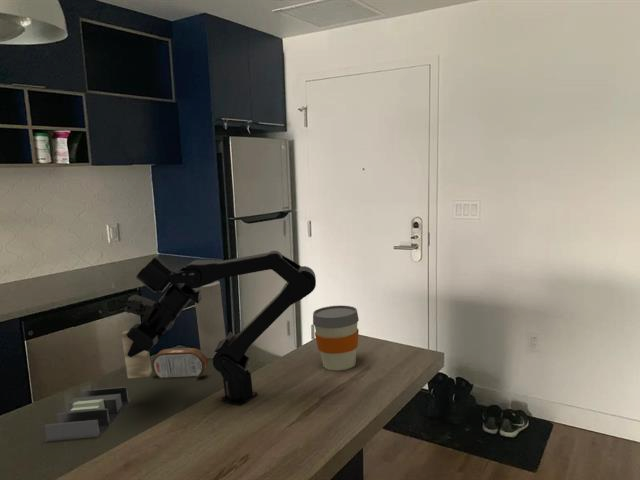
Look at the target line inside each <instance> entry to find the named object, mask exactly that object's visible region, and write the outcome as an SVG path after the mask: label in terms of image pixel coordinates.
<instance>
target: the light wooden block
mask: <svg viewBox="0 0 640 480" xmlns="http://www.w3.org/2000/svg"><path fill="white" fill-rule="evenodd" d="M129 330H130V329H129ZM129 330H125V331H123V332H122V333H121V339H122V347H123V348H122V349H123V354H124V360H125V361H124V362H125V368H126V375H127V379H137V378H139V379H140V378H146V377H147V378H148V377H150V375H151V374H152V373H153V368H152V362H151V356H150V351H149V352H148V351H145V350H144V351H142V352H140V353H138V354H136V355H134V356H133V357H129V356H128V355H127V354H128V352H129V350H130V347H131V345H132V343H133V341H132V340H131V339H129V338H128V337H127V335H126V334H127V333H128V332H129Z"/></svg>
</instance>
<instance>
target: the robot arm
mask: <svg viewBox="0 0 640 480" xmlns="http://www.w3.org/2000/svg"><path fill="white" fill-rule="evenodd" d="M269 270H272V271H273V272H274V273H275V274H277V275H278V276H279V277H280V278H282V279H283V281H285V284H284V285H283V287H282V289H281V290H280V292H279V293H278V294H277V295H276V296H275V297H273V299H272V300H271V301H270V302H269V303H268V304H267V305H266V306H264V308H263V309H262V310H260V312H259V313H258V314H257V315H256V316H255V317H254V318H253V319H252V320H250V321H249V322H248V324H247V325H245V327H244V328H242V330H241V331H239V332H238V333H236V334H233V333H232V331H229V333H228V334H227V335H226V338H225V339H224V340H222V341H220V342H219V344H218V345H217V347H216V349H215V352H216V353H215V355H214V357H213V358H212V365H213V367H214V369H215V370H216V371H217V372H219V373H220V375H221V377H222V378H223V380H222V382H223V390H224V391H223V392H224V396H222V397H221V398H220V400H221V401H222V400H224V401H223V402H226V401H228V402H227V403H229V402H231V403H230V404H233V403H235V405H237V404H238V406H241V405H242V404H244V403H246V402H248V401H250V400H251V399H253V398H254V396H255V397H256V396H257V394H258V392H257V391H254V390H253V382H252V373H251V372H250V371H249V370H248V367H249V365H250V361H251V358H250V357H249V356H248V355H246V353H247V351H248V349H249V347H250V346H252V344H253V343H254V342H255V341H256V340H257V339H259V337H260V336H261V335H262V334H263V333H264V332H266V330H267V329H268V328H269V327H270V326H271V325H272V324H273V323H274V322H276V321H277V320H278V318H279V317H281V316H282V314H284V312H285V311H286V310H287V309H289V307H290V306H292V305H294V304H296V303H298V302H299V301H301V300H303V299H304V298H306V297H308V296H309V295H310V294H312V293H313V292H314V290H315V289H316V287H317V285H316V284H317V279H316V278H317V277H316V273H315V271H314V270H313V269H312V268H311V267H309V266H305V265H300V264H298V263H297V262H295V261H293V260H291V259H290V258H288V257H287V256H285V255H284V254H282V252H279V251H278V250H272V251H270V252H269V251H268V252H265V253H264V252H263V253H258V254H253V255H248V256H247V255H246V256H243V257H237V258H230V259H225V260H215V259H214V260H213V259H196V260H193V261H192V262H190V263H188V264H187V265H186V266H184V267H179V268H176V269H175V270H174V269H172V268H171V267H170V266H169V265H167V264H166V263H165V262H163V260H162V259H161V258H160V257H159V256H155V257H153V258H152V259H151V260H150V261H149V262H148V263H147V264H146V265H145V266H144V267H143V268H142V269H141V270H140V271H139V272H138V274H137V275H136V277H135V279H137V280H138V281H139V282H141V284H143V285H144V286H145V287H147V288H148V289H149V290H151V291H152V292H153V293H158V292H160V293H163V292H164V291H165V290H166V289H167V288H168V287H169V288H168V289H167V290H166V292H165V293H164V294H163V295H162V296H161V298H159V299H158V300H157V301H154V300H152V299H150V298H147V297H144V296H141V295H138V294H133V295H131V296H129V297H128V299H127V301H126V303H125V304H124V307H125V309H124V312H125V313H127V314H133V315H136V316H140V317H141V319H140V320H141V323H136V324H134V325H133V326H132V327H131V328H130V329H129V332H128V333H127V334H126V335H127V337H128V338H129V339H131V340H132V341H133V343H132V345H131V347H130V350H129V352H128V354H127V355H128V356H129V357H133V356H134V355H136V354H138V353H140V352H142V351H144V350H145V351H148V352H149V353H150V351H151V349H152V348H153V347H154V346H155V345H156V344H158V341H159V340H160V339H162V337H164V335H165V332H168V331H169V330H170V329H171V328H172V327H173V326H174V324H175V323H176V322H175V320H176V319H177V318H178V317H179V316H180V315H181V313H182V312H183V311H184V309H185V308H186V307H187V305H188V304H190V302H191V301H193V302H194V304H195V303H199V302H200V301H201V300H202V297H201V290H194V289H193V288H199V287H202V286H205V285H207V284H210V283H212V282H215V281H220V280H222V279H225V278H230V277H235V276H241V275H246V274H252V273H253V274H254V273H257V272H258V273H259V272H265V271H269ZM170 284H171V286H169V285H170Z"/></svg>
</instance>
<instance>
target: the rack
mask: <svg viewBox="0 0 640 480" xmlns="http://www.w3.org/2000/svg"><path fill="white" fill-rule="evenodd" d="M129 398H130V397H129V392H128V386H119V387H117V386H116V387H107V388H105V387H104V388H95V389H85V390H83V389H82V390H81V397H74V398H72V400H70V401H69V402H68V403H67V407H68V411H66V412H58V413H57V414H56V419H57V423H46V424H44V425H43V426H44V432H45V439H46V440H44V442H45V443H46V442H58V441H68V440H78V439H90V438H91V439H92V438H100V437H101V438H102V437H103V435H104V434H105V433H106V431H107V430H108V429H109V427H110V426H111V425H112V424H113V423H114V422H115V420H116V419H117V418H118V416H119V415H120V414H121V413H122V412H123V411H124V409H125V408H126V407H127V405H128V404H129V403H130V402H131V399H129ZM100 399H104V406H105V409H96V410H85V411H74V412H71V411H70V410H71V409H72V408H73V405H72V404H74V403H75V402H78V401H89V400H100Z"/></svg>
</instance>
